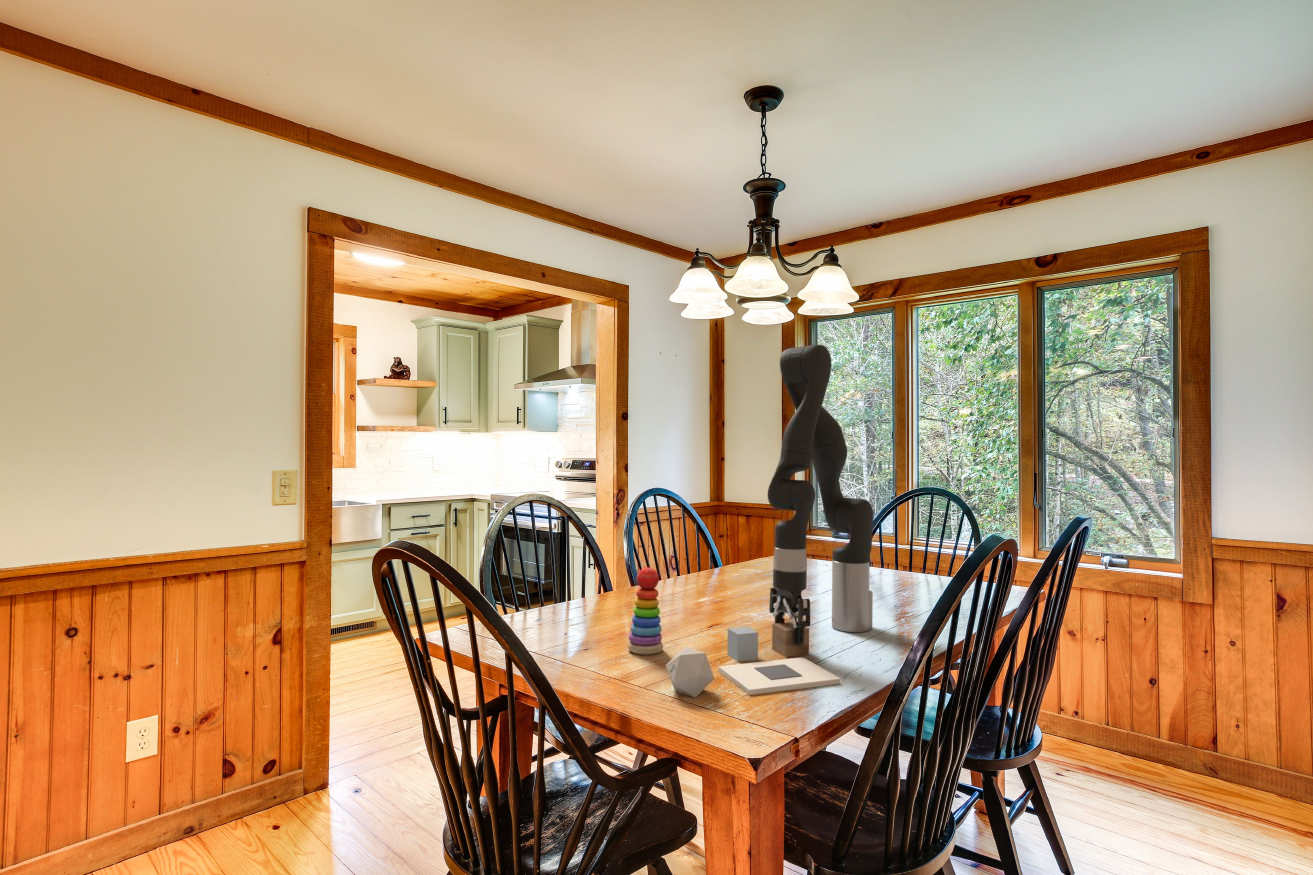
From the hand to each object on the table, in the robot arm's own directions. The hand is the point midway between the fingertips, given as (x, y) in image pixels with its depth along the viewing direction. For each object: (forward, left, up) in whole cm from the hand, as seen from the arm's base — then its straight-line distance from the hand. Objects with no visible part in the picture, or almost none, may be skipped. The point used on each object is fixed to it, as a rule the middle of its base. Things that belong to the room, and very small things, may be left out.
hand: (788, 639), depth 157 cm
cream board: (+11, +14, -3) cm, 18 cm away
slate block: (+12, 0, -3) cm, 12 cm away
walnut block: (0, 0, -3) cm, 3 cm away
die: (+31, +16, -3) cm, 35 cm away
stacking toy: (+31, -11, -3) cm, 33 cm away
